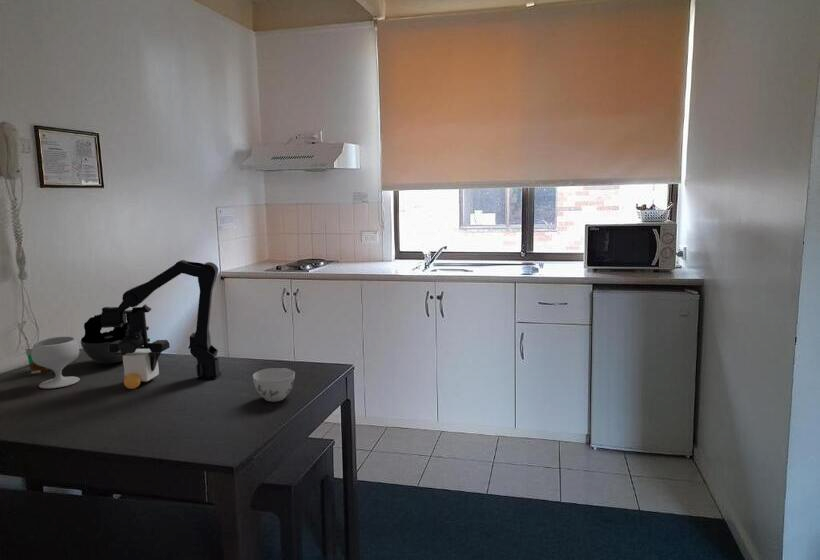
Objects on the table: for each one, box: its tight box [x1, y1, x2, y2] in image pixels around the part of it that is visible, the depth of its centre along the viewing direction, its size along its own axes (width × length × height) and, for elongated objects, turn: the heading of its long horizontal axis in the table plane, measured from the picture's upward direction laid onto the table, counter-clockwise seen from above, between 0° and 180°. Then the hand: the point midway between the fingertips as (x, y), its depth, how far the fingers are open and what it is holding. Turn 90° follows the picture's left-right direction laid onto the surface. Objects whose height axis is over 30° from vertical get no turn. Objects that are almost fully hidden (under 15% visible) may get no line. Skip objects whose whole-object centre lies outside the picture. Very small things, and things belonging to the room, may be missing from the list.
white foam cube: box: [122, 349, 160, 382], centre depth 200 cm, size 8×8×9 cm
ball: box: [123, 373, 142, 390], centre depth 194 cm, size 5×5×5 cm
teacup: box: [252, 367, 296, 402], centre depth 182 cm, size 15×12×8 cm
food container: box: [25, 348, 54, 376], centre depth 216 cm, size 12×6×10 cm, turn 179°
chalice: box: [31, 336, 81, 389], centre depth 201 cm, size 14×14×15 cm
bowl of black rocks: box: [80, 313, 128, 365], centre depth 224 cm, size 20×20×19 cm
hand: (141, 370), depth 200 cm, fingers closed on white foam cube, 8 cm apart
